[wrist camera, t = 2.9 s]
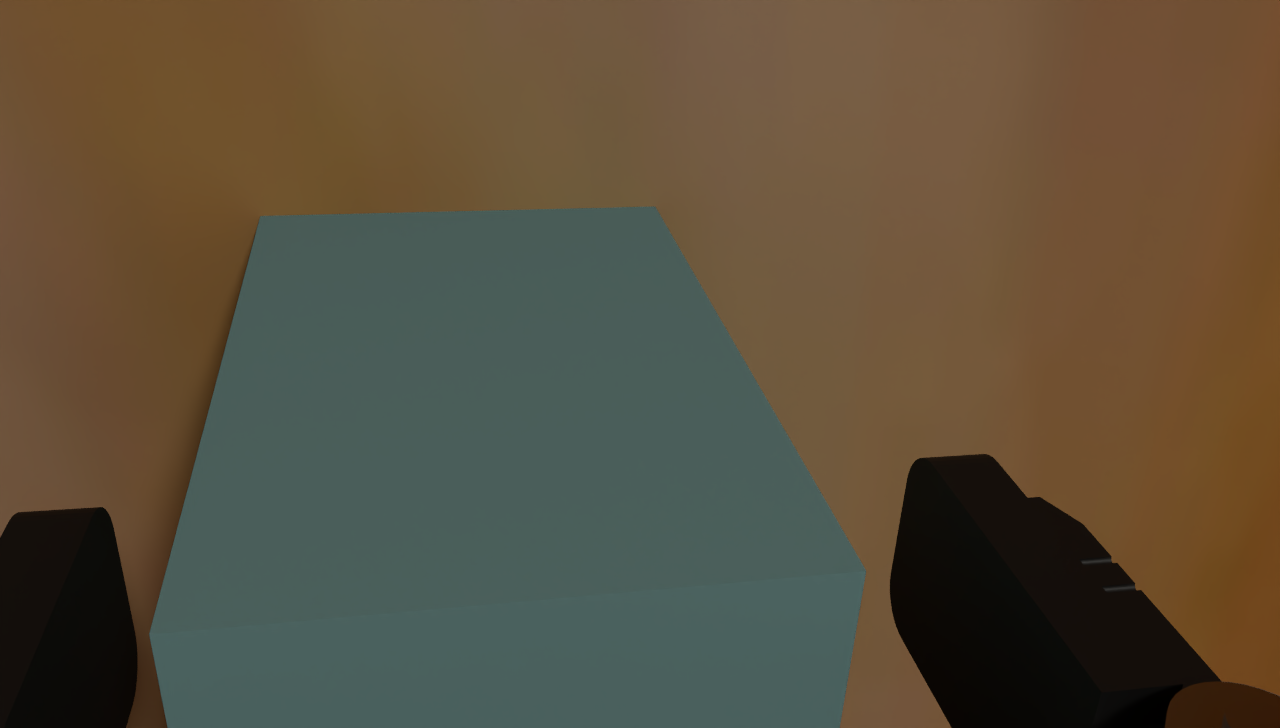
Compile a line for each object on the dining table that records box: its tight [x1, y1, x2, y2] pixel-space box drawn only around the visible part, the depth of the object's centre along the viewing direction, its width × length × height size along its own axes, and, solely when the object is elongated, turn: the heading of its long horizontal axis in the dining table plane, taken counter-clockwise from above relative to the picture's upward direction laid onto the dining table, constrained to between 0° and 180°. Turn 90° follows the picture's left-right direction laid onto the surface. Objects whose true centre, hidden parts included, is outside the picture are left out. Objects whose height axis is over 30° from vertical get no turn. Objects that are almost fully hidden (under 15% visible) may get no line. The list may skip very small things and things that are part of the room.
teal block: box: [149, 207, 866, 728], centre depth 11 cm, size 5×4×7 cm
